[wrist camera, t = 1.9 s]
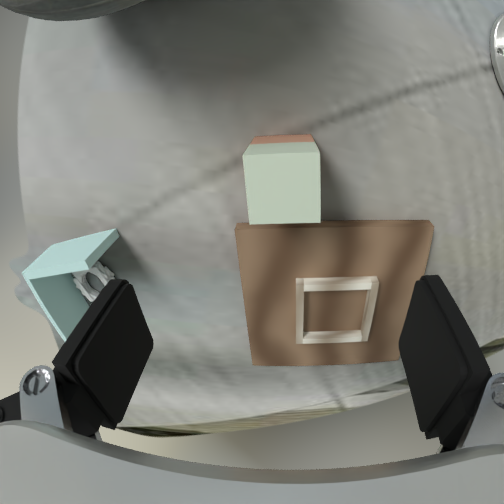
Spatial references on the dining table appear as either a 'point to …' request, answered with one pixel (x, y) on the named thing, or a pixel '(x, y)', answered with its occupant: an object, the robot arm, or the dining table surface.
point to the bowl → (67, 8)
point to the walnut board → (329, 288)
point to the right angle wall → (69, 278)
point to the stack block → (283, 179)
